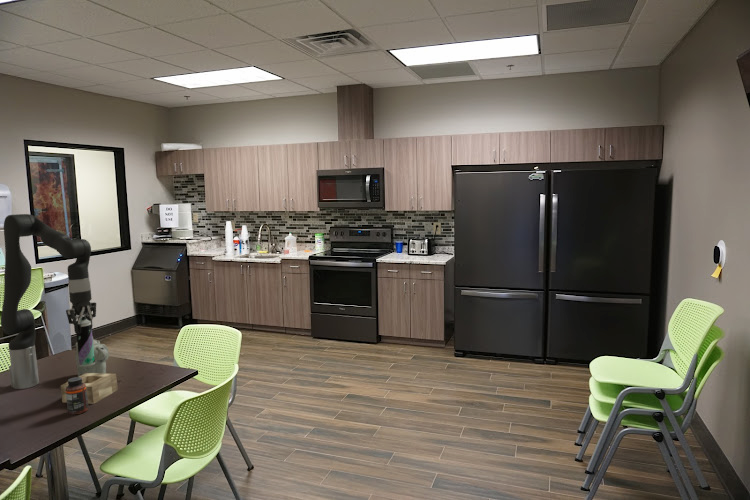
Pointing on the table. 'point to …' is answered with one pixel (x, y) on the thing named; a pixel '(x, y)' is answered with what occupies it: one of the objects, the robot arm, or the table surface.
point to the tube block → (95, 386)
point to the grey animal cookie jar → (100, 359)
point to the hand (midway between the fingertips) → (83, 330)
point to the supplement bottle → (76, 396)
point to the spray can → (85, 344)
